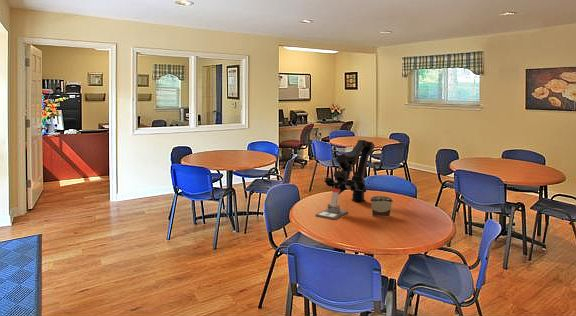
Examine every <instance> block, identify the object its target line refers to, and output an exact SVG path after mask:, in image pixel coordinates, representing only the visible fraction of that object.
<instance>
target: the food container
mask: <svg viewBox="0 0 576 316" xmlns="http://www.w3.org/2000/svg"><path fill="white" fill-rule="evenodd" d="M369 202H371V204H370V205H371V215H372V217H390V216H391V211H392V210H391V209H392V203H394V201H393V198H392V197H390V196H384V195H383V196H382V195H375V196H372V197H370V200H369Z"/></svg>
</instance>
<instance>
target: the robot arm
mask: <svg viewBox="0 0 576 316" xmlns="http://www.w3.org/2000/svg"><path fill="white" fill-rule="evenodd" d="M374 149H375V143H374V141H368V140H366V139H358V140H357V143H356V144H355V146H354V147H353V149H352V150H351V151H349V152H347V153H346V154H345V153H342V154H340V155H339V156H338V157H336V160H335V161H336V163H337V164H338V166H339V168H340V171H339V170H334V171H333V177H335V179H333V177H325V178H324V182H325V184H326V186H327V187H331V188H335V189H340V193H339V194H338V196H340V194H342V193H343V192H344V191H347V190H348V187H350V191H351V192H352V198H351V201H353V202H356V203H362V202H366V199H365V193H366V192H367V189H368V188H367V186H366V180H365V177H364V176H365V173H366V169H367V165H368V161H369V156H370V155H372V153H373V151H374ZM359 155H360V157H359ZM358 157H359V158H360V159H359V158H358ZM358 160H359V161H358ZM357 163H358V166H357V169H356V174H354V175H353V176H351V179H350V175H351V172H353V171H354V170H353V166H356V165H357Z"/></svg>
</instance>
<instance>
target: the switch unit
mask: <svg viewBox="0 0 576 316" xmlns="http://www.w3.org/2000/svg"><path fill="white" fill-rule="evenodd" d="M330 206H331V203H328V204H327V208H326V209H324V210H322V211H320V212H318V213H315V217H317V218H323V219H329V220H333V221H336V220H338V218H341V217H342V216H344V215H346V214H348V213H349V211H348V210H344V209H341V208H340V205H338V204H337V209H334V208H330Z"/></svg>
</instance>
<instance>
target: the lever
mask: <svg viewBox="0 0 576 316" xmlns="http://www.w3.org/2000/svg"><path fill="white" fill-rule="evenodd" d="M331 192H332V194H331V201H330V208H334V209H337V206H338V201H339V195H340V194H341V193H340V189H335V187H331ZM339 193H340V194H339ZM338 194H339V195H338Z"/></svg>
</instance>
